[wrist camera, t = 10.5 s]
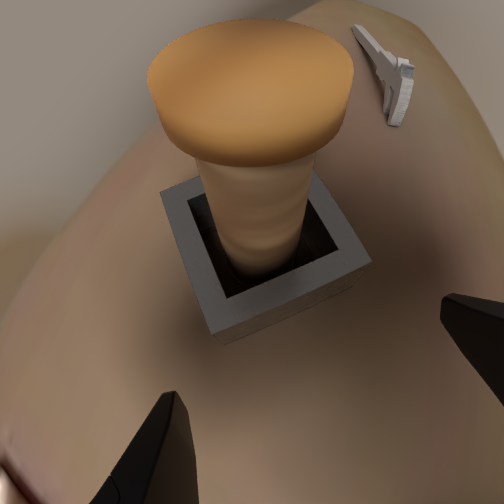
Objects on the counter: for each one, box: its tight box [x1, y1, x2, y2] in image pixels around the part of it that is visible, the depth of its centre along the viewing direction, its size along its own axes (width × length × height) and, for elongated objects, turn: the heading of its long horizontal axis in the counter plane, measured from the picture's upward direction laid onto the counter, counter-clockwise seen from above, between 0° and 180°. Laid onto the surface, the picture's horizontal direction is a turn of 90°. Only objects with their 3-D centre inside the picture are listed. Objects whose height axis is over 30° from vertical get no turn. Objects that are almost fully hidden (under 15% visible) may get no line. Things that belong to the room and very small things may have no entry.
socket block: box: [160, 169, 372, 345], centre depth 17 cm, size 8×8×4 cm
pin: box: [147, 19, 354, 288], centre depth 13 cm, size 5×5×13 cm
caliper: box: [351, 25, 414, 127], centre depth 24 cm, size 20×1×6 cm, turn 176°
